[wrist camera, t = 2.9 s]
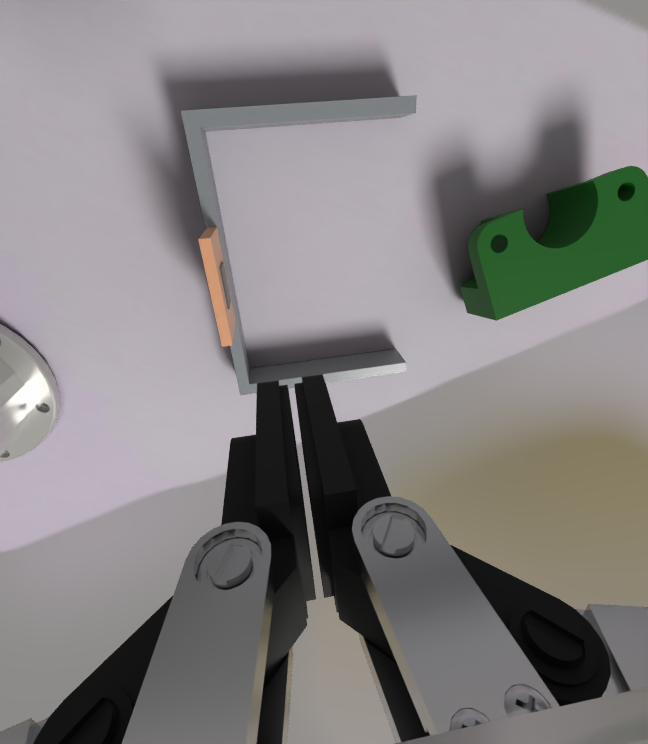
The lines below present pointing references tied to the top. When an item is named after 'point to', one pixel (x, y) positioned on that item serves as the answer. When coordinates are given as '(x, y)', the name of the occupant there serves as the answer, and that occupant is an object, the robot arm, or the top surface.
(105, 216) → the top surface
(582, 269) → the clamp
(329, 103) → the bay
